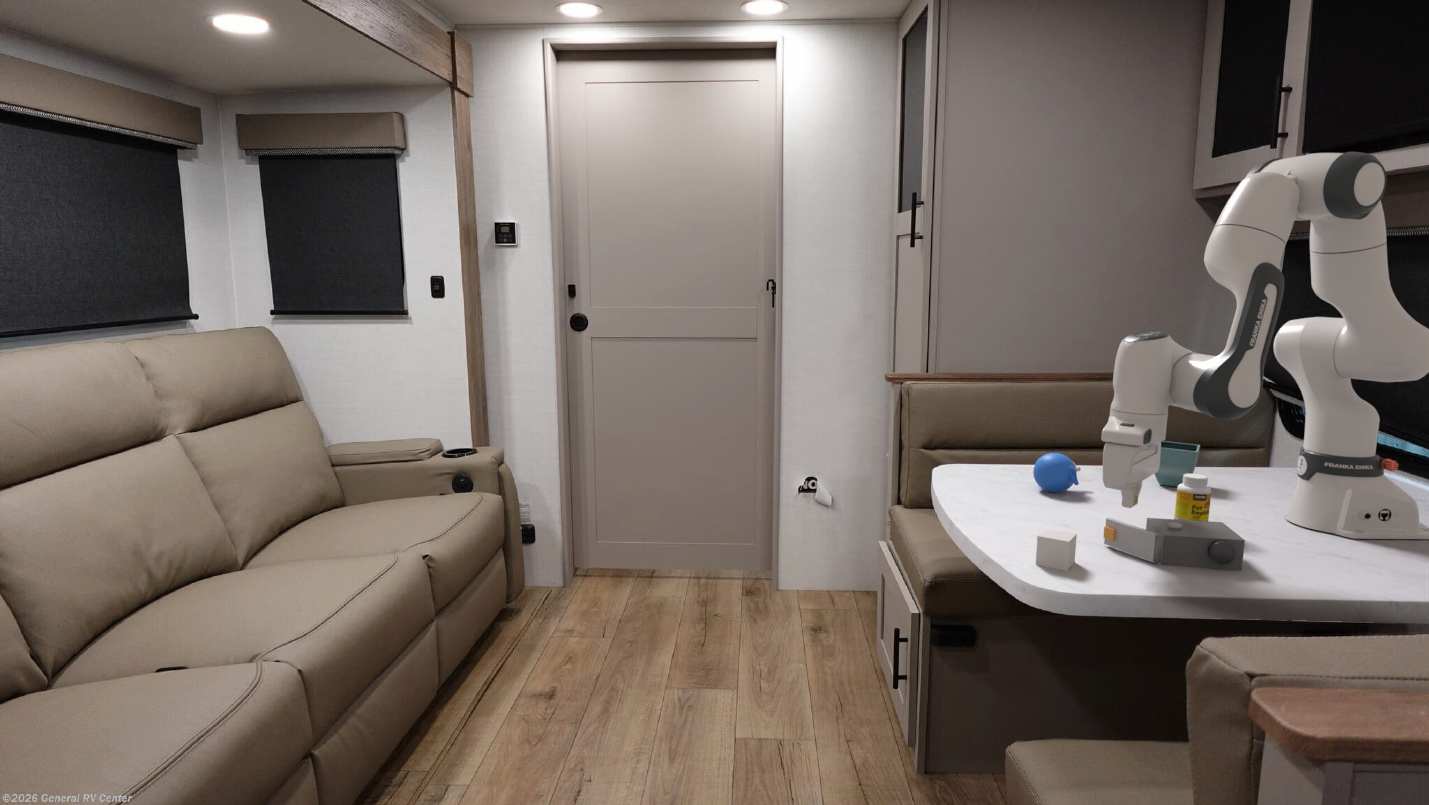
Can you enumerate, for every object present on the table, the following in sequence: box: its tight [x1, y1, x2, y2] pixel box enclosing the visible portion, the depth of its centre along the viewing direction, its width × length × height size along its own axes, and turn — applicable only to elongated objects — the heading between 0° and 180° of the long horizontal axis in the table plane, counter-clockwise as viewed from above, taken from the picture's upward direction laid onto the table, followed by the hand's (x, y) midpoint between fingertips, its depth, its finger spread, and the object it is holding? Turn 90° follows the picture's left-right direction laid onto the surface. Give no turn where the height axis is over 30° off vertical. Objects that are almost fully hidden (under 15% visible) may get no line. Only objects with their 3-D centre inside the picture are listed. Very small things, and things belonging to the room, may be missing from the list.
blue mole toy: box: [1032, 452, 1082, 493], centre depth 187 cm, size 12×12×8 cm
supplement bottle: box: [1173, 473, 1212, 521], centre depth 160 cm, size 6×6×10 cm
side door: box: [1103, 517, 1162, 564], centre depth 146 cm, size 2×11×5 cm, turn 23°
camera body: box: [1145, 517, 1246, 571], centre depth 144 cm, size 12×12×6 cm
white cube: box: [1035, 528, 1078, 571], centre depth 142 cm, size 5×5×5 cm
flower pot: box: [1154, 440, 1201, 488], centre depth 193 cm, size 9×9×9 cm
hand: (1129, 506), depth 149 cm, fingers closed
